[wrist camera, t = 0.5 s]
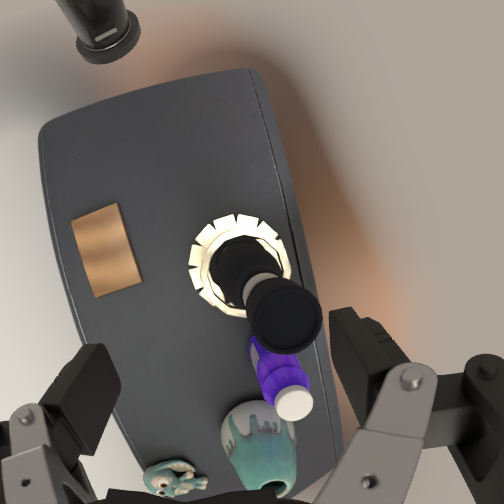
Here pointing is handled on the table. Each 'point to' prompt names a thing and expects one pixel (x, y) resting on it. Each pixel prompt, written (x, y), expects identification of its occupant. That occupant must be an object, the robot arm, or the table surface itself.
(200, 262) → the ring stand
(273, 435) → the vase
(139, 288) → the table surface
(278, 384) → the bottle
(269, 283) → the wine bottle
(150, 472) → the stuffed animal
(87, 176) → the table surface
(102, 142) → the table surface
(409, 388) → the robot arm
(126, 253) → the cork mat
